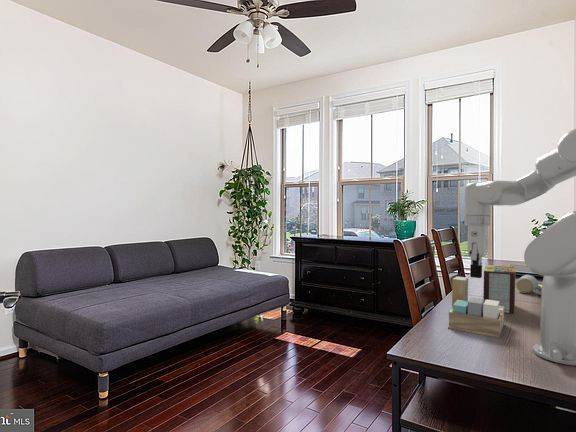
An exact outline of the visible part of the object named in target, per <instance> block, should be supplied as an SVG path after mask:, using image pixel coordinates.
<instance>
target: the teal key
mask: <svg viewBox="0 0 576 432" xmlns="http://www.w3.org/2000/svg"><path fill="white" fill-rule="evenodd" d="M453 312H455V313H461V314H467V315H468V302H464V301H456V302H455V303H454V304H453Z"/></svg>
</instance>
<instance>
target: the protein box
mask: <svg viewBox="0 0 576 432" xmlns="http://www.w3.org/2000/svg"><path fill="white" fill-rule="evenodd" d="M482 296H483V298H482V299H484V302H485V300H486V299H487V300H494V301H499V306H504V314H509V315H516V314H515V310H516V309H515V308H516V306H515V305H516V303H515V302H516V269H515V267H514V266H506V265H505V266H503V265H502V266H501V265H490V264H485V265H484V269H483V295H482Z"/></svg>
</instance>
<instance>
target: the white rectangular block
mask: <svg viewBox="0 0 576 432" xmlns="http://www.w3.org/2000/svg"><path fill="white" fill-rule="evenodd" d="M483 317H486V318H492V319H498V318H499V301H494V300H487V299H486V300H485V302H484V304H483Z"/></svg>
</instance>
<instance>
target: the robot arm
mask: <svg viewBox="0 0 576 432" xmlns="http://www.w3.org/2000/svg"><path fill="white" fill-rule="evenodd" d="M574 177H576V128H574V129H572V130H569V131H567V132H566V133H565V134H563V136H562V137H560V139H559V141H558V144H557V148H554V149H553V150H551V151H549V152H547V153H545V154H543V155H542V156H539V157H538V158H537V159H536V161H535V169H534V170H532V171H531V172H529V174H527V175H526V174H525V176H522V177H521V178H518V179H516V180H514V181H513V180H490V181H485V182H469V183H467V184H466V185H465V188H464V226H467V242H466V243H467V244H466V245H467V246H466V247H467V255H468V256H469V257H470V267H469V270H470V272H469V275H470V276H469V277H470V278H475V279H482V277H483V265H482V264H483V262H482V261H483V258H485V257H486V256H487V255H488V249H489V248H488V227H490V226H491V223H492V222H491V218H492V212H491V211H492V210H491V209H492V206H518V205H522V204H524V203H526V202H529V201H532V200H533V199H536V198H538V197H540V196H542V195H544V194H546V193H547V192H548V191H550V190H551V189H553V188H554V187H555V186H556V185H558V184H560V183H563V182H565V181H568V180H570V179H571V178H574ZM523 258H524V259H523V260H524V264H525V265H526V267H527V268H528V269H529V270H530V271H531V272H533V273H534V274H537V275H539V276H543V279H542V283H541V289H542V293H541V295H540V325H539V326H540V327H539V328H540V329H539V331H540V333H539V337H540V338H539V343H536V344H534V345H533V346H532V351H533V353H534V354H535V355H537V356H539V357H540V358H542V359H545V360H548V361H551V362H554V363H558V364H562V365H565V366H566V365H568V366H575V367H576V210H573V211H570V212H568V213H567V214H565V215H563V216H561V217H560V218H558V219H557V220H556V221H555V222H553V224H552V225H550V226H549V227H548V228H547V229H545V230H544V231H543V232H542V233H540V234H539V235H538V236H536V237H535V238H534V239H533V240H531V242H530V243H528V245H527V247H526V248H525V250H524V253H523Z"/></svg>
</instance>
